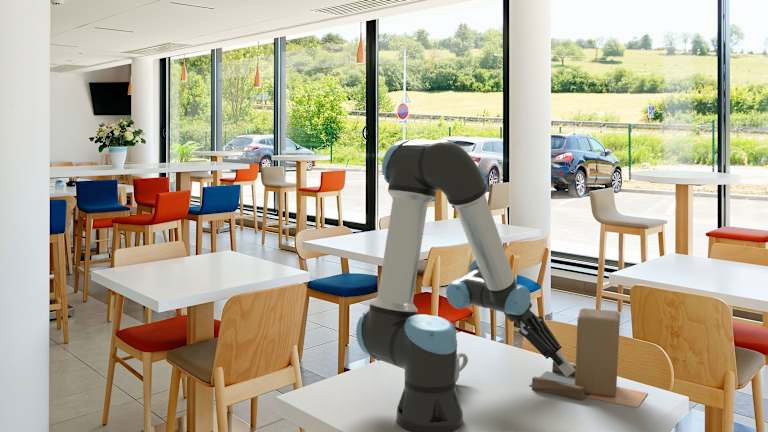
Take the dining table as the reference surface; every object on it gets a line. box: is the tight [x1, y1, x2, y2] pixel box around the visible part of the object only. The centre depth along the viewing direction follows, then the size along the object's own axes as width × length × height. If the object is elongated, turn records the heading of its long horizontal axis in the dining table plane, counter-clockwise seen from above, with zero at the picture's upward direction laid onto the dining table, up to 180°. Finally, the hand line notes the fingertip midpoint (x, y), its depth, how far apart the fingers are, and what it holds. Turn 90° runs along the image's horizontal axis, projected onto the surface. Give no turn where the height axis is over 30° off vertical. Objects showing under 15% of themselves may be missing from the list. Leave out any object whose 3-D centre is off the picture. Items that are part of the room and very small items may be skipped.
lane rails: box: [531, 360, 585, 401], centre depth 175 cm, size 17×13×3 cm
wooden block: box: [575, 307, 621, 397], centre depth 170 cm, size 10×10×20 cm
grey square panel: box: [528, 370, 590, 399], centre depth 175 cm, size 13×15×1 cm
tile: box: [587, 386, 649, 409], centre depth 168 cm, size 11×12×1 cm
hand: (571, 373), depth 174 cm, fingers closed
